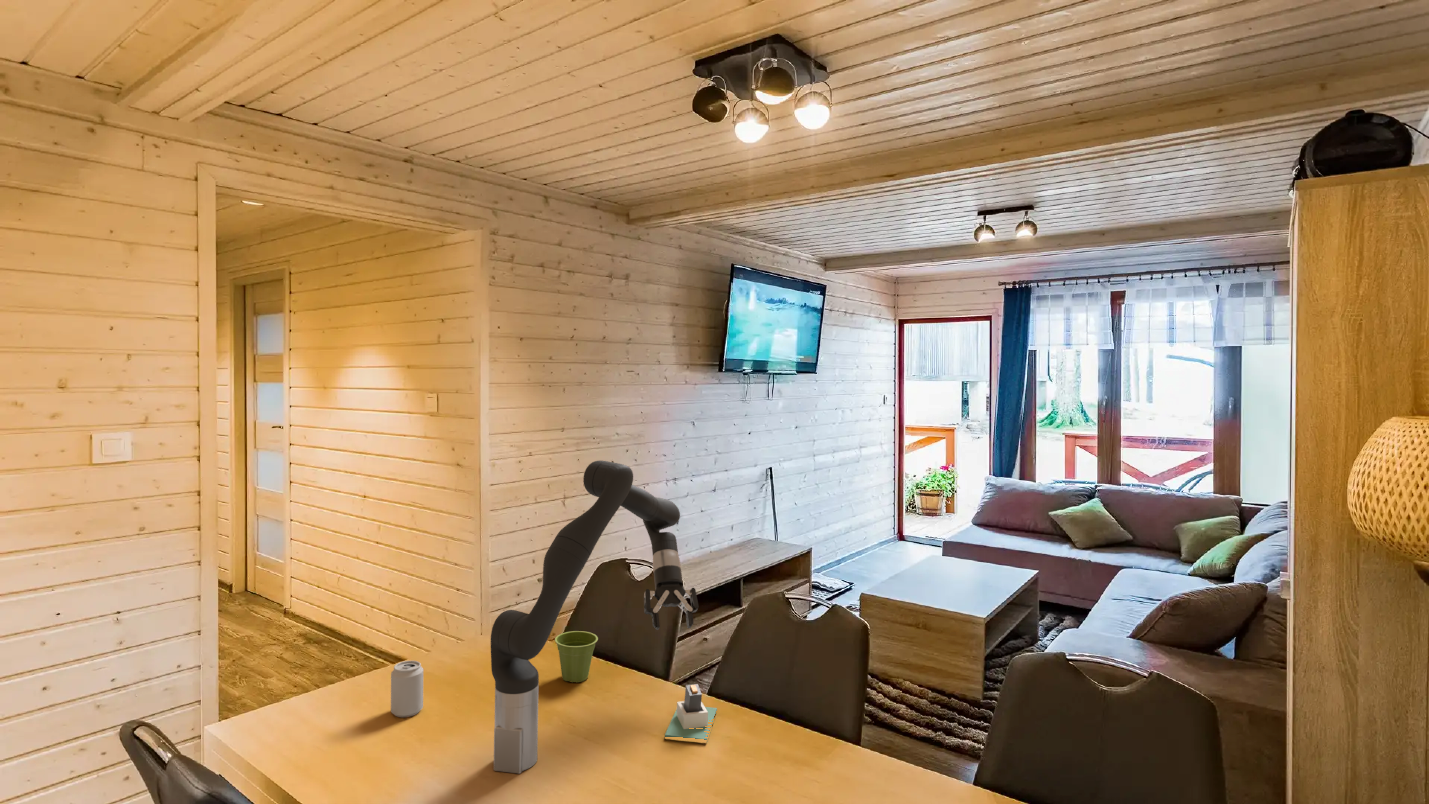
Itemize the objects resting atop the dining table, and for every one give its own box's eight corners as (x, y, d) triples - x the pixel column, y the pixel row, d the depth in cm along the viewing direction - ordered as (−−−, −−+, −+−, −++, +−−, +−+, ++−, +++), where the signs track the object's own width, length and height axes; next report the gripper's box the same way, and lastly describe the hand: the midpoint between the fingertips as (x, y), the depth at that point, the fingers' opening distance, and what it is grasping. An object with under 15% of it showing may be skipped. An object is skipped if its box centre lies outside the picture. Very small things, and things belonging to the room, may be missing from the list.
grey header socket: (707, 726, 177) (708, 712, 176) (683, 729, 175) (684, 715, 175) (699, 712, 183) (700, 699, 183) (676, 715, 182) (677, 701, 181)
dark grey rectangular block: (699, 722, 178) (702, 692, 176) (687, 723, 178) (690, 693, 175) (694, 711, 182) (697, 682, 180) (683, 713, 181) (686, 683, 179)
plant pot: (574, 691, 196) (574, 650, 196) (545, 678, 204) (545, 639, 203) (605, 676, 206) (606, 637, 205) (577, 665, 213) (577, 627, 212)
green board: (706, 744, 171) (706, 739, 170) (664, 739, 172) (664, 734, 172) (716, 712, 186) (717, 708, 186) (678, 708, 188) (678, 704, 188)
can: (428, 706, 186) (429, 659, 185) (413, 720, 178) (414, 671, 178) (400, 703, 186) (401, 657, 186) (384, 717, 179) (384, 669, 178)
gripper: (644, 564, 194) (649, 624, 184) (695, 563, 198) (703, 621, 189) (639, 576, 200) (644, 634, 190) (689, 575, 204) (696, 632, 194)
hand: (673, 628), depth 189 cm, fingers open, 8 cm apart
